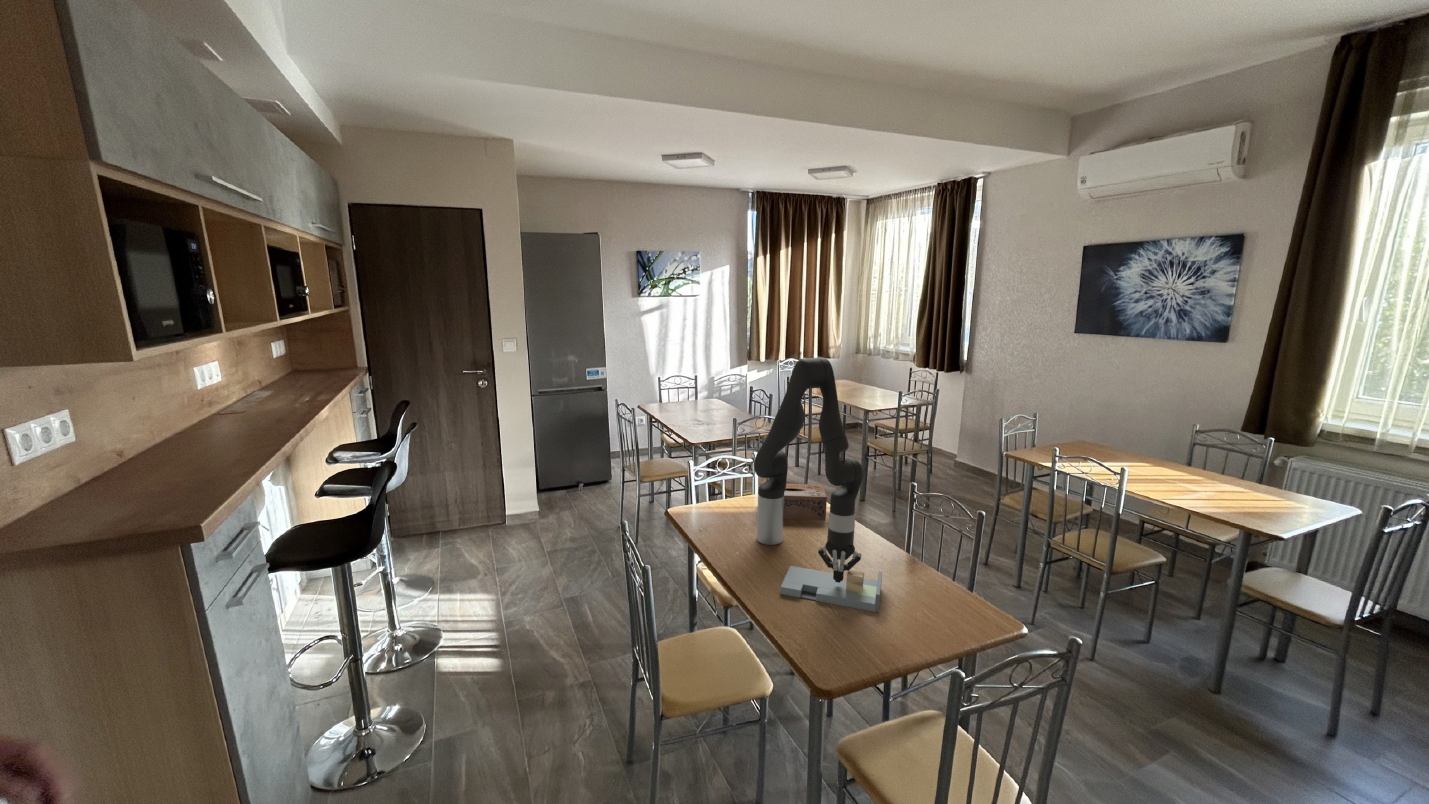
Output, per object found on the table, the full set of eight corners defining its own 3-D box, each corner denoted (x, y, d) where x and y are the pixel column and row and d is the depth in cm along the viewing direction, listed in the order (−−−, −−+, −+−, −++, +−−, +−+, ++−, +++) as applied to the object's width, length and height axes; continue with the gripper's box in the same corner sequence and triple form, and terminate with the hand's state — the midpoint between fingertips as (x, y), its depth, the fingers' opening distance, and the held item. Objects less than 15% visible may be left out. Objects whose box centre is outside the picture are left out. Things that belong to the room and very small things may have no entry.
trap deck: (790, 572, 180) (790, 556, 179) (880, 588, 171) (882, 572, 170) (780, 594, 167) (780, 577, 166) (878, 612, 158) (879, 594, 157)
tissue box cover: (760, 518, 224) (761, 494, 222) (759, 505, 238) (760, 482, 236) (825, 521, 223) (826, 497, 221) (820, 507, 237) (822, 484, 235)
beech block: (847, 583, 169) (848, 567, 168) (863, 585, 168) (864, 570, 167) (845, 590, 165) (846, 574, 164) (861, 593, 164) (862, 577, 163)
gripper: (865, 525, 166) (862, 579, 169) (820, 518, 170) (817, 571, 173) (863, 534, 159) (859, 591, 162) (816, 527, 163) (813, 583, 166)
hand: (838, 581), depth 168 cm, fingers closed
